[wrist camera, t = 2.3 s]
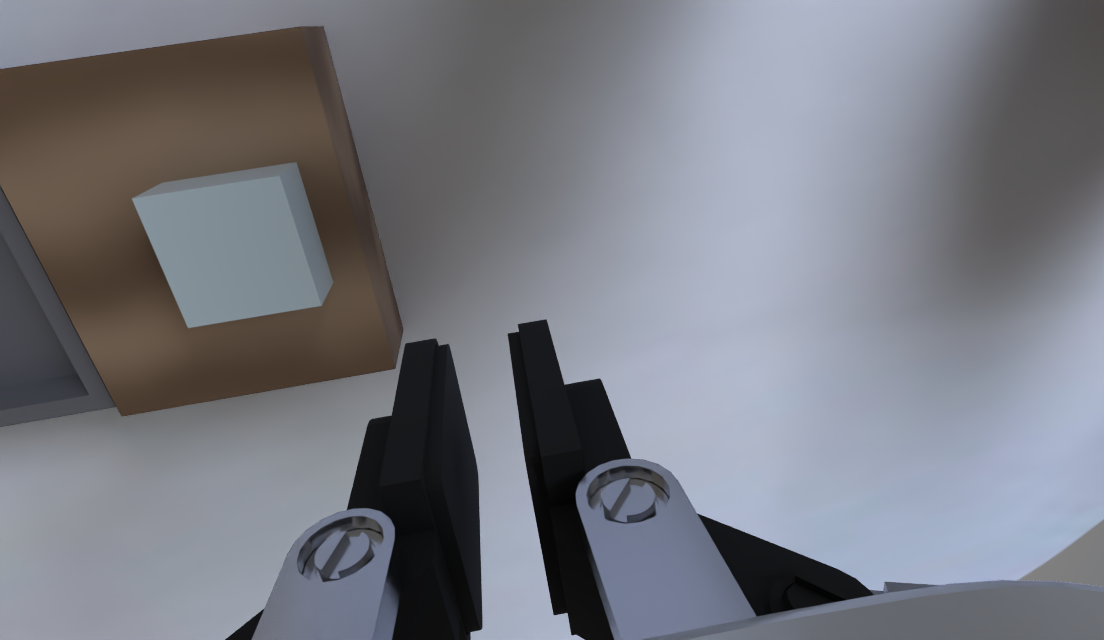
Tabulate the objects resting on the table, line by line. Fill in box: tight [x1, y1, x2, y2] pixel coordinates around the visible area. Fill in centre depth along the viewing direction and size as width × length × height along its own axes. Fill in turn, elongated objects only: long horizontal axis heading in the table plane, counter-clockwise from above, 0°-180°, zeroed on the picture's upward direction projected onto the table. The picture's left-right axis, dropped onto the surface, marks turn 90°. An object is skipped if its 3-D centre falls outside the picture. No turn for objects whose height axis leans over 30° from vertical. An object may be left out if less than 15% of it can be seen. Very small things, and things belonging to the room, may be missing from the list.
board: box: [0, 26, 403, 416], centre depth 26 cm, size 14×12×4 cm
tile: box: [132, 162, 333, 328], centre depth 24 cm, size 5×5×2 cm
